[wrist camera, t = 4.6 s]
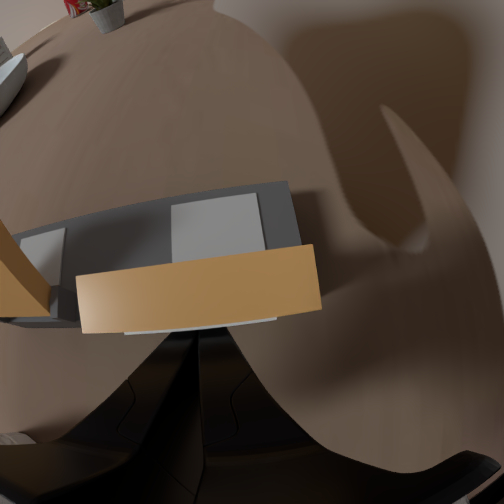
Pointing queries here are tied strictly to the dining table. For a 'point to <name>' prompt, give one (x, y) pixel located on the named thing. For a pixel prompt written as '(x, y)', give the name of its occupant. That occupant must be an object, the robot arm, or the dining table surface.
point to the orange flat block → (200, 292)
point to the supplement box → (4, 52)
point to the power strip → (154, 239)
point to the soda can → (75, 7)
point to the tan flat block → (20, 282)
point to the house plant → (107, 14)
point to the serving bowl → (11, 80)
